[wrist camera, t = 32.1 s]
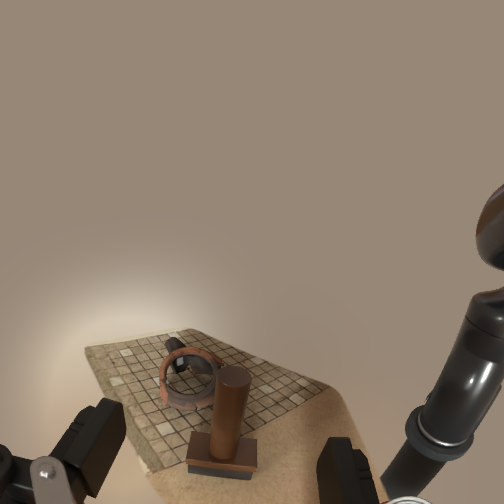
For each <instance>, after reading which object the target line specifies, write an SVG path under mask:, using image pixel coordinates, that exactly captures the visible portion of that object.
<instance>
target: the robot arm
mask: <svg viewBox="0 0 504 504" xmlns="http://www.w3.org/2000/svg"><path fill="white" fill-rule="evenodd" d="M476 245H477V250H478V252H479V255H480V257H481V259H482V260H483V261H484V262H485V263H486V264H488V265H490V266H491V267H493V268H495V269H498V270H502V271H504V184H503V185H502V186H501V187H500V188H498V189H497V190H496V191H495V192H494V193H493V194H492V196H491V197H490V198H489V199H488V201H487V202H486V204H485V206H484V208H483V210H482V212H481V215H480V217H479V220H478V224H477V229H476ZM503 379H504V287H502V288H499V289H496V290H491V291H485V292H480V293H477V294H475V295H474V296H473V297H472V299H471V301H470V303H469V306H468V309H467V312H466V315H465V318H464V320H463V323H462V325H461V328H460V331H459V333H458V336H457V338H456V341H455V343H454V346H453V348H452V350H451V353H450V355H449V357H448V359H447V362H446V364H445V366H444V368H443V370H442V372H441V375H440V377H439V379H438V381H437V383H436V385H435V387H434V389H433V390H432V391H431V393H430V394H429V395H428V396H427V398H426V400H427V399H428V400H427V402H426V404H425V406H424V407H423V409H422V410H421V411H420V413H419V415H418V417H417V420H416V425H417V429H418V431H419V433H420V434H421V435H422V437H423V438H424V439H425V440H427V441H428V442H429V443H431V444H433V445H435V446H437V447H440V448H445V449H453V448H457V447H460V446H461V445H463V444H464V443H465V441H466V440H467V439H468V437H471V436H472V435H473V433H474V432H475V430H476V429H477V427H478V426H479V424H480V423H481V421H482V419H483V418H484V417H485V415H486V413H487V412H488V410H489V409H490V407H491V405H492V404H493V402H494V400H495V398H496V397H497V395H498V393H499V392H500V390H501V383H502V381H503ZM428 397H429V398H428ZM125 436H126V423H125V417H124V411H123V405H122V403H120V402H117V401H113V400H110V399H107V398H102V399H101V400H100V402H99V404H98V405H97V406H96V408H95V407H92V406H88V407H86V408H85V409H83V410H81V411H80V412H79V413H78V415H77V416H76V418H75V419H74V422H72V423H71V425H70V426H69V429H67V430H66V432H65V433H64V435H63V436H62V438H61V439H60V441H59V442H58V443H57V445H56V446H55V448H54V449H53V451H52V452H51V454H50V455H49V456H42V457H39V458H37V459H35V460H29V459H25V458H21V457H17V456H13V455H12V454H11V452H10V451H9V449H8V448H6V447H5V446H4V445H1V444H0V504H84V500H85V498H86V496H87V495H88V496H91V497H93V498H96V497H97V495H98V492H99V490H100V488H101V486H102V484H103V482H104V480H105V478H106V476H107V474H108V472H109V470H110V468H111V466H112V464H113V462H114V460H115V458H116V456H117V454H118V451H119V449H120V447H121V445H122V443H123V441H124V439H125ZM316 473H317V482H318V490H319V499H320V504H380V503H379V500H378V496H377V492H376V488H375V485H374V481H373V479H372V474H371V471H370V466H369V463H368V459H367V458H366V456H365V455H364V454H363V453H362V451H361V450H360V449H353V448H352V444H351V441H350V438H349V437H329V438H328V440H327V442H326V444H325V446H324V448H323V450H322V452H321V454H320V456H319V458H318V461H317V467H316Z"/></svg>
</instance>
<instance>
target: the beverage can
mask: <svg viewBox="0 0 504 504" xmlns="http://www.w3.org/2000/svg"><path fill="white" fill-rule="evenodd" d="M381 504H432V503H430V502H429V501H427V500H425V499H422V498H419V497H414V496H403V497H398V498H395V499H393V500H390V501H387V502H383V503H381Z"/></svg>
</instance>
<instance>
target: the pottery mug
mask: <svg viewBox="0 0 504 504" xmlns="http://www.w3.org/2000/svg"><path fill="white" fill-rule="evenodd" d="M165 346H166V348H167V350H168V352H169V355H168V356H167V357H166V358H165V359H164V361H163V362H162V364H161V367H160V370H159V378H160V387H161V388H160V392H159V394H160V397H161V399H162V401H163V402H164V404H165V405H168V406H170V407H173V408H176V409H181V410H192V411H195V410H197V408H201V409H202V408H204V407H206V406H208V405H209V404H211V403H213V402H214V394H215V385H216V376H217V372H218V371H219V370H220V369H221V366H224V363H223V362H222V361H221V360H220V359H219V358H218V357H217V356H215V355H214V354H212V353H210V352H207V351H205V350H202V349H200V348H196V347H186V346H185V345H184V344H183V343H182V342H181V341H180V340H178V339H177V338H176V337H171V338H170V339H168V340H167V341H166V343H165ZM170 364H171V366H172V370H173V371H174V373H175V374H178V373H180V372H184V371H185V369H186V368H187V366H188V365H189V364H190V365H191V369H192V373H193V375H196V374H208V375H212V376H213V377H212V380H211V383H210V384H209V385H208V386H207V387H206V388H205V389H204V390H202V391H200V392H198V393H195V394H183V393H179V392H177V391H175V390H174V389H172V388H171V387H170V386H169V385H168V386H167V384H166V380H167V378H166V374H167V370H168V367H169V365H170Z"/></svg>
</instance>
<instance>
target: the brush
mask: <svg viewBox="0 0 504 504" xmlns="http://www.w3.org/2000/svg"><path fill="white" fill-rule="evenodd" d="M251 379H252V378H251V375H250V373H249V372H248V371H247V370H245V369H243V368H240V367H237V366H226V367H223V368H221V369H220V370H219V371H218V372H217V376H216V385H215V394H214V403H213V412H212V422H211V431H210V434H208V433H202V432H196V431H192V432H191V437H190V441H189V446H188V451H187V456H186V464H188V473H194V474H200V475H207V476H214V477H222V478H231V479H242V480H251V477H252V474H253V472H256V469H257V439H250V438H240V434H241V429H242V425H243V420H244V415H245V410H246V405H247V400H248V395H249V389H250V384H251Z"/></svg>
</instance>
